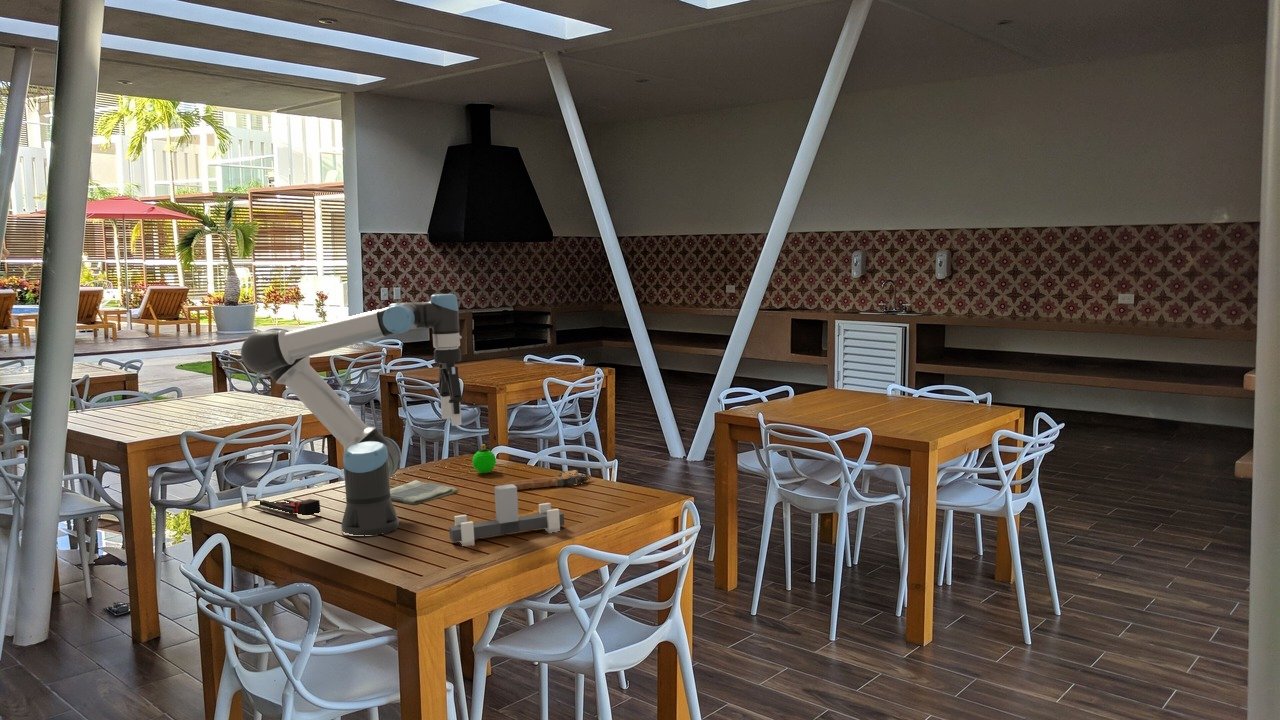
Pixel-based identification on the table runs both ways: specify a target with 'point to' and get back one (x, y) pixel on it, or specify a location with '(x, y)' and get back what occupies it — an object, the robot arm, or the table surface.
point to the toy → (294, 506)
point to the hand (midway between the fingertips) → (451, 421)
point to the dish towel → (419, 492)
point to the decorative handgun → (551, 480)
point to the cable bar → (505, 517)
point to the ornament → (484, 460)
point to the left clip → (465, 530)
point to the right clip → (550, 517)
